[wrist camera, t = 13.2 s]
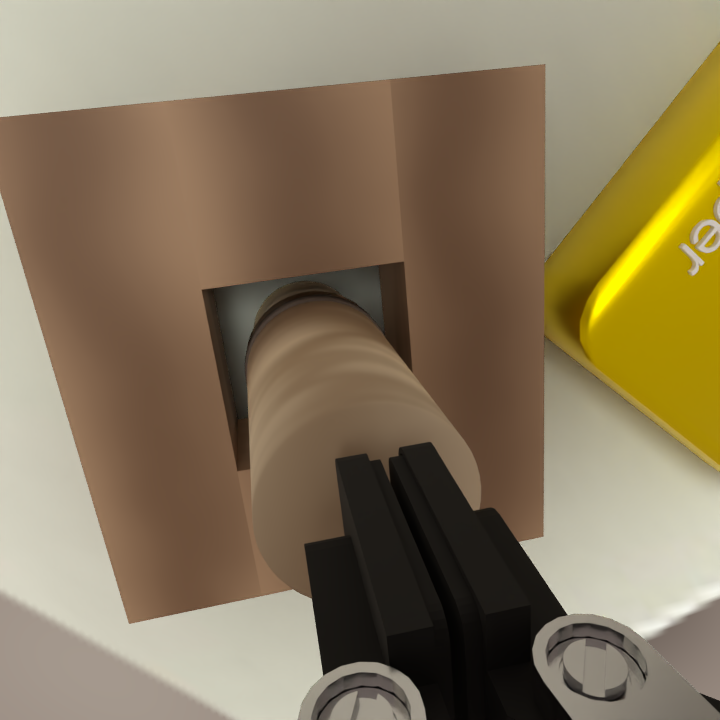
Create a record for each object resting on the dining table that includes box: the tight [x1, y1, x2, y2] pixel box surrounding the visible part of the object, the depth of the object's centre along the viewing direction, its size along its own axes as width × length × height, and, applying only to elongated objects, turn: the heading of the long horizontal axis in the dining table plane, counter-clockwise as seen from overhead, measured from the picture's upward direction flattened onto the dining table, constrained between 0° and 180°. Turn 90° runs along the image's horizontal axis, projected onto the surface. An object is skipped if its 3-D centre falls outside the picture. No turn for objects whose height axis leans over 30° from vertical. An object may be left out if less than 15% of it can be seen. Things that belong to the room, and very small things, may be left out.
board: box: [0, 64, 545, 624], centre depth 21 cm, size 15×16×4 cm
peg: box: [245, 281, 481, 598], centre depth 17 cm, size 4×4×12 cm
